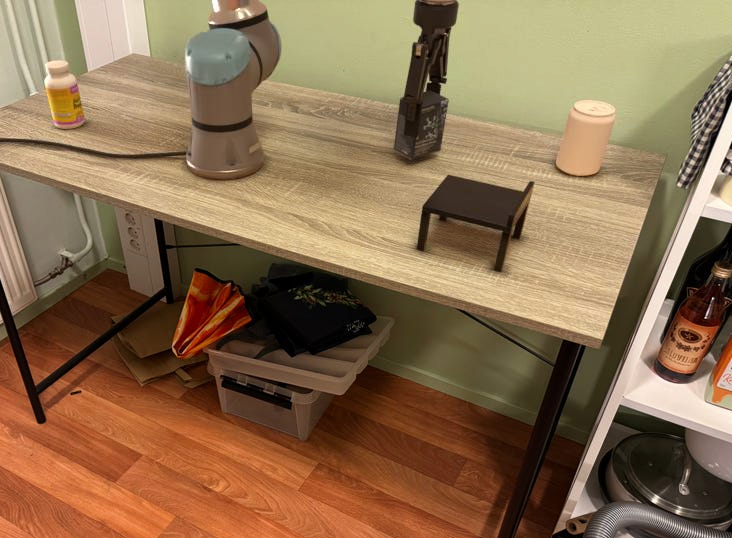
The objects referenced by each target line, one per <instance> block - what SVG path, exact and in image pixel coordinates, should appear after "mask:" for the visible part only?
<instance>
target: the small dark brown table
mask: <svg viewBox="0 0 732 538" xmlns="http://www.w3.org/2000/svg"><path fill="white" fill-rule="evenodd" d="M534 187H535V181H533V180H530V181H528V183H527V185H526V187H525V188H524V190H523V191H522V190H519V189H514V188H511V187H505V186H501V185H495V184H492V183H487V182H483V181H479V180H473V179H470V178H465V177H461V176H456V175H452V174H447V175H446V176H445V177H444V179H443V180H442V181H441V182H440V184H439V185H438V186H437V187H436V189H434V191H433V192H432V194H430V196H429V197H428V199H426V201H425V202H424V204H423V205H422V207H421V215H420V222H419V229H418V236H417V243H416V250H418V251H421V252H424V251H425V250H426V248H427V243H428V238H429V237H428V236H429V235H428V234H429V228H430V222H431V215H436V216H439V217H438V221H442V222H446V221H447V220H448V219H451V220H456V221H459V222H465V223H468V224H472V225H475V226H481V227H484V228H489V229H493V230H495V231H500V232H501V236H500V240H499V245H498V249H497V253H496V258H495V262H494V266H493V271H495V272H499V273H502V271H503V269H504V267H505V263H506V258H507V255H508V250H509V246H510V242H511V238H512V239H515V240H521V237H522V234H523V230H524V226H525V223H526V218H527V215H528V210H529V207H530V203H531V198H532V194H533V190H534Z"/></svg>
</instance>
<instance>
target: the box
mask: <svg viewBox="0 0 732 538" xmlns="http://www.w3.org/2000/svg"><path fill="white" fill-rule="evenodd" d="M412 96H413V95H412ZM403 97H404V96H402V97H400V98H399V104H398V111H397V120H396V127H395V136H394V142H393V143H394V144H393V151H395V152H396V153H398V154H400V155H402V156H403V157H405V158H407V159H409V160H411V161H412V160H415V159H419V158H421V157H424V156H426V155H427V156H428V155H429V154H434V153H436V152H437V153H438V152H440V151H441V150H442V149H441V148H442V144H443V137H444V132H445V131H444V130H445V126H446V120H447V113H448V107H449V103H450V102H449V101H450V99H449V98H447V97H445V96H443V95H441V94H440V95H439V94H437V93H435V92H433V91H431V90H428V91H426V90H425V91H424V92H423V96H422V99H421V102H423V106H422V113H421V121H420V128H419V136H418V137H417V138H415V137H411V136H406V135H404V127H405V119H406V110H407V102H404V101H403Z"/></svg>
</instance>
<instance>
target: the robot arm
mask: <svg viewBox="0 0 732 538" xmlns="http://www.w3.org/2000/svg"><path fill="white" fill-rule="evenodd" d="M210 2H211V6H212V10H211V13H210V14H209V16H208V18H207V23H208V28H209V29H207V31H200V32H199V33H197V34H195V35H193V36H192V37H191V38H190V39H189V40H188V41H187V43H186V46H185V50H184V57H185V60H184V68H185V73H186V81H187V90H188V91H187V92H188V98H189V99H188V100H189V108H190V117H191V131H190V135H189V139H188V144H187V148H186V149H187V150H186V151H169V152H155V153H154V152H153V153H151V152H150V153H133V154H127V153H125V154H124V153H113V152H105V151H100V150H95V149H91V148H86V147H83V146H82V147H81V146H76V145H73V144H67V143H61V142H55V141H50V140H41V139H33V138H31V139H30V138H15V137H14V138H13V137H9V138H8V137H2V138H1V137H0V143H21V144H35V145H42V146H43V145H45V146H50V147H51V146H52V147H57V148H63V149H68V150H72V151H77V152H83V153H87V154H92V155H96V156H101V157H106V158H114V159H150V158H151V159H152V158H166V157H180V156H181V157H183V156H185V157H186V158H185V159H186V166H187V168H188V170H189V171H190V172H191V173H193V174H194V175H196V176H199V177H201V178H205V179H209V180H210V179H211V180H233V179H234V180H235V179H241V178H243V177H247V176H250V175H252V174H255V173H256V172H257V171H259V170H260V169H261V168H262V167H263V166H264V162H265V161H264V150H263V147H262V141H261V140H259V137H258V133H257V131H256V128H255V126H254V117H253V97H252V95H253V93H254V91H256V89H257V88H259V86H260V85H261V84H262V83H263V82H264V81H266V80H267V79H269V78H270V77H271V76H272V74H273V72H274V71H275V69H276V67H277V66H278V64H279V62H280V59H281V56H282V47H283V46H282V39H281V35H280V33H279V30H278V28H277V26H276V25H275V24H274V23H272V21H270V18H269V17H270V16H269V13H268V8H267V5H266V4H264V3H263V2H262V1H260V0H210ZM459 6H460V5H459V2H458V1H457V0H415V1H414V8H413V17H412V22H413V24H414V25H416V26H417V27H418V26H419V28H420V29H421V31H420V35H419V36H418V39H417V41H414V42H413V43H412V44H411V57H410V62H409V67H408V73H407V78H406V83H405V88H404V93H403V96H402V97H403V101H404V102H407V110H406V119H405V127H404V135H406V136H411V137H415V138H417V137H418V136H419V128H420V121H421V113H422V106H423V102H421V99H422V96H423V92H426V91H428V90H431V91H433V92H435V93H437V94H439V95H441V90H442V84H443V85H446V84H447V82H448V78H447V75H448V63H449V49H450V37H451V32H452V28H453V27H454V26H455V25H456V23H457V21H458V20H457V19H458V12H459ZM427 80H428V81H427ZM412 95H413V96H412Z"/></svg>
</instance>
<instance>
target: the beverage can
mask: <svg viewBox="0 0 732 538" xmlns="http://www.w3.org/2000/svg"><path fill="white" fill-rule="evenodd" d="M615 112H616V108H615V107H614V105H612V104H610V103H608V102H606V101H602V100H601V101H600V100H595V99H594V100H593V99H585V100H579V101H577V102H575V103H574V105H573V107H572V108H571V109H569V112H568V116H567V120H566V123H565V127H564V131H563V134H562V138H561V141H560V146H559V148H558V153H557V157H556V161H555V165H556V167H557V168H558V169H559V170H561V171H562V172H564V173H566V174H568V175H571V176H578V177H585V176H591V175H594V174H597V173H599V171H600V169H601V166H602V163H603V159H604V157H605V153H606V150H607V148H608V144H609V140H610V137H611V134H612V131H613V129H614V125H615V122H616V117H617V115H616V113H615Z"/></svg>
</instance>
